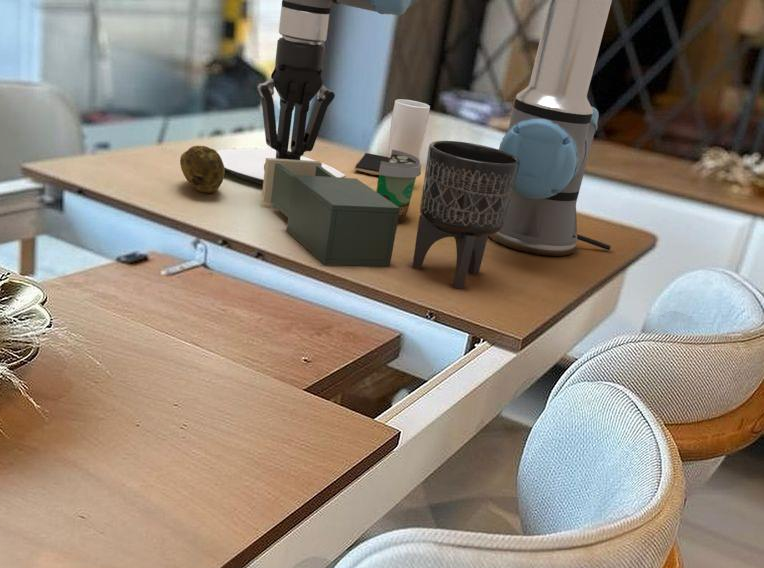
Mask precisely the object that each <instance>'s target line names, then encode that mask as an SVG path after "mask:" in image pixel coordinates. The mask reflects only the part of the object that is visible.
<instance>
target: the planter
mask: <svg viewBox="0 0 764 568" xmlns="http://www.w3.org/2000/svg"><path fill="white" fill-rule="evenodd" d="M427 150H428V151H427V156H426V164H425V172H424V179H423V186H422V192H421V193H422V194H421V199H420V200H421V201H420V207H419V213H420V214H419V217H418V223H417V233H416V239H415V245H414V253H413V259H412V268H414V269H418V270H420V269H421V268H422V267H423V264H424V261H425V258H426V256H427V254H428V252H429V251H430V249H431V247H432V246H433V245H434V244H435V243H436V242H438V241H440V240H442V239H445V238H454V241H455V245H456V261H455V271H454V278H453V284H452V286H453V287H454V289H460V290H464V289H465V285H466V282H467V281H466V280H467V276H468V273H470V274H472V275H478V274H480V270H481V265H482V263H483V258H484V254H485V250H486V246H487V242H488V238H489V236H488V235H490V234H494V233H497V232H498V231H500V229H501V228H502V226H503V224H504V221H505V217H506V213H507V210H508V206H509V202H510V199H511V195H512V192H513V188H514V184H515V181H516V177H517V174H518V170H519V166H520V160H519V158H517V157H516V156H514V155H512V154H510V153H508V152H505V151H502V150H499V148H494V147H491V146H487V145H483V144H479V143H478V144H477V143H472V142H465V141H459V140H457V141H456V140H436V141H432V142H430V143H429V145H428V149H427Z"/></svg>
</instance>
